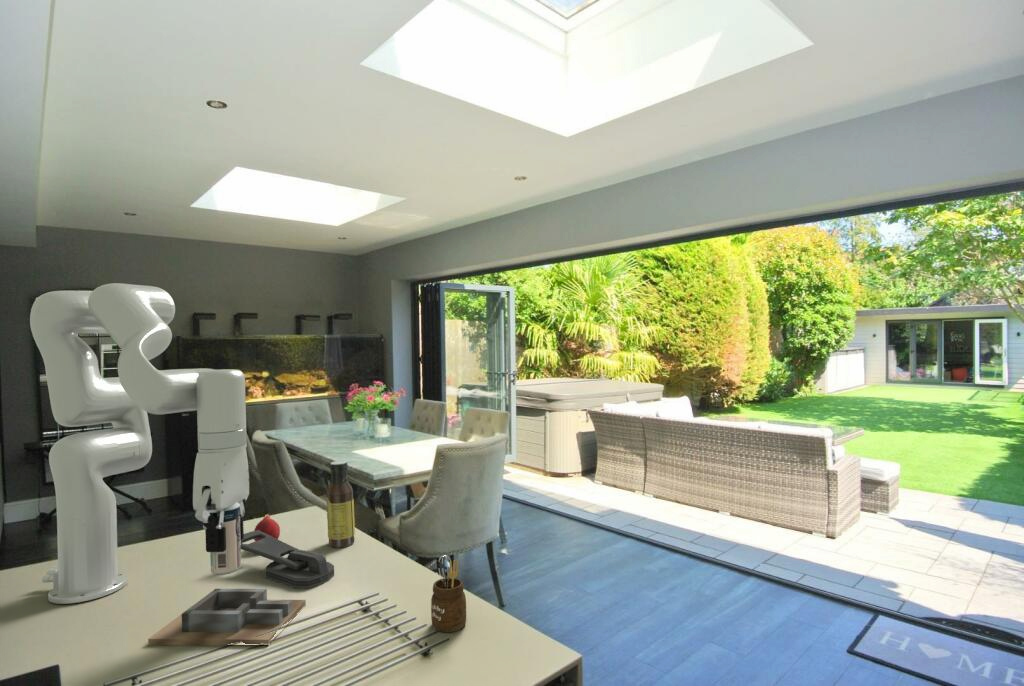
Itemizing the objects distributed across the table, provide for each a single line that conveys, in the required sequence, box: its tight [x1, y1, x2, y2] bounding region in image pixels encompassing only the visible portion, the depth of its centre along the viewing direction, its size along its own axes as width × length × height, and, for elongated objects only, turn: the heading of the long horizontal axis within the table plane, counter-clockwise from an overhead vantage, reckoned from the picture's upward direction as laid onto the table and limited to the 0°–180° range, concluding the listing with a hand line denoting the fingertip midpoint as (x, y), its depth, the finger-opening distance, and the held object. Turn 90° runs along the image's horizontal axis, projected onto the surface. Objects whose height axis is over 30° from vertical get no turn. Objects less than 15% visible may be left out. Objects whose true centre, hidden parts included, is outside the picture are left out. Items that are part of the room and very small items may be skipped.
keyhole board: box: [147, 588, 307, 647], centre depth 97 cm, size 20×14×4 cm
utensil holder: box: [430, 555, 467, 633], centre depth 95 cm, size 6×6×12 cm
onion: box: [253, 514, 281, 542], centre depth 134 cm, size 6×6×8 cm
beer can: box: [209, 502, 242, 576], centre depth 97 cm, size 5×5×12 cm
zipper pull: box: [241, 530, 335, 590], centre depth 119 cm, size 9×7×25 cm
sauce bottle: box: [326, 460, 356, 548], centre depth 136 cm, size 6×6×20 cm
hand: (225, 544), depth 97 cm, fingers closed on beer can, 4 cm apart
